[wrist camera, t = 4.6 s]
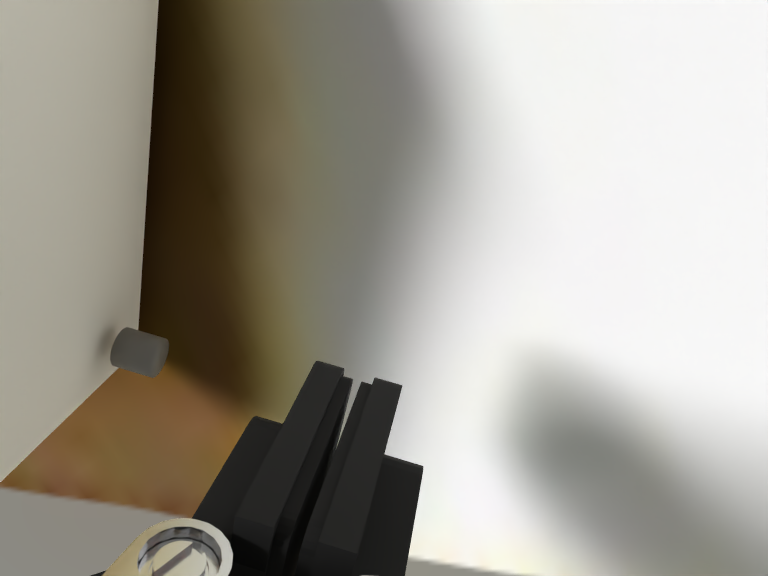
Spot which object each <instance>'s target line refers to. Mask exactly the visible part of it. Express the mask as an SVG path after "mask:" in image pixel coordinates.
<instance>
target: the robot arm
mask: <svg viewBox="0 0 768 576" xmlns="http://www.w3.org/2000/svg"><path fill="white" fill-rule="evenodd" d="M343 375H344V368H341V367H337V366H334V365H330V364H327V363H324V362H320V361H316V362H315V364H314V365H313V367H312V369H311V371H310V373H309V375H308V377H307V379H306V381H305V383H304V385H303V387H302V388H301V390H300V392H299V394H298V396H297V398H296V400H295V402H294V404H293V406H292V408H291V410H290V412H289V413H288V415H287V417H286V419H285V421H284V423H283V424H281V423H278V422H274V421H271V420H268V419H264V418H261V417H258V416H255V417H253V418H252V420H251V421H250V422H249V424H248V426H247V427H246V429H245V431H244V432H243V434H242V436H241V437H240V439H239V441H238V442H237V444H236V446H235V447H234V449H233V451H232V452H231V454H230V456H229V457H228V459H227V461H226V462H225V464H224V466H223V467H222V469H221V471H220V472H219V474H218V476H217V477H216V479H215V481H214V482H213V484H212V486H211V487H210V489H209V491H208V492H207V494H206V496H205V497H204V499H203V501H202V502H201V504H200V506H199V507H198V509H197V511H196V512H195V514H194V516H193V517H192V519H185V518H178V519H172V520H167V521H163V522H161V523H158V524H156V525H154V526H152V527H150V528H148V529H147V530H146V531H144V532H143V533H142V534H141V535H139V536H138V537H137V538H136V539H135V540H134V541H133V542H132V543H131V544H130V546H129V547H128V548H127V549H126V550H125V551H124V552H123V553H122V554H121V555H120V557H119V558H118V559H117V560H116V561H115V562H114V563H113V564H112V565H111V566H110V567H109V568H108V569H107V570H106V571H103V572H101V573H98V574H94V575H91V576H405V571H406V565H407V560H408V554H409V548H410V543H411V537H412V531H413V525H414V520H415V514H416V508H417V503H418V497H419V491H420V485H421V480H422V474H423V466H421V465H418V464H414V463H411V462H408V461H404V460H401V459H398V458H394V457H391V456H388V455H384V453H385V449H386V445H387V442H388V438H389V434H390V430H391V426H392V423H393V419H394V415H395V411H396V408H397V404H398V400H399V396H400V393H401V389H402V385H399V384H395V383H392V382H388V381H385V380H381V379H378V378H374V381H373V384H372V385H371V384H368V383H364V382H361V384H360V387H359V390H358V392H357V395H356V398H355V400H354V403H353V406H352V408H351V411H350V414H349V416H348V419H347V422H346V424H345V427H344V430H343V432H342V435H341V438H340V440H339V443H338V439H339V435H340V431H341V427H342V423H343V419H344V415H345V411H346V407H347V403H348V399H349V395H350V391H351V387H352V382H353V379H351V378H347V377H344V376H343ZM337 443H338V446H337ZM336 447H337V449H336Z"/></svg>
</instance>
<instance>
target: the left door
mask: <svg viewBox="0 0 768 576" xmlns="http://www.w3.org/2000/svg"><path fill="white" fill-rule="evenodd" d="M158 3H159V0H0V482H1V481H2V480H3V479H4V478H5V477H6V476H7V475H8V474H9V473H10V472H11V471H12V470H13V469H15V468H16V467H17V466H18V465H19V464H20V463H21V462H22V461H23V460H24V459H25V458H26V457H27V456H28V455H29V454H30V453H31V452H32V451H33V450H34V449H35V448H36V447H37V446H38V445H39V444H40V443H41V442H42V441H43V440H44V439H45V438H47V437H48V436H49V435H50V434H51V433H52V432H53V431H54V430H55V429H56V428H57V427H58V426H59V425H60V424H61V423H62V422H63V421H64V420H65V419H66V418H67V417H68V416H69V415H70V414H71V413H72V412H73V411H74V410H75V409H76V408H77V407H79V406H80V405H81V404H82V403H83V402H84V401H85V400H86V399H87V398H88V397H89V396H90V395H91V394H92V393H93V392H94V391H95V390H96V389H97V388H98V387H99V386H100V385H101V384H102V383H103V382H104V381H105V380H106V379H107V378H108V377H109V376H111V375H112V374H113V373H114V372H115V371H116V370H117V369H118V368H122V369H125V370H129V371H132V372H135V373H139V374H142V375H145V376H149V377H152V378H153V377H156V376H157V375H158V374H159V372H160V371H161V369H162V368H163V366H164V364H165V361H166V358H167V355H168V350H169V342H168V340H167V339H166V338H162V337H159V336H156V335H152V334H149V333H146V332H142V331H139V330H138V326H139V310H140V293H141V277H142V261H143V245H144V229H145V213H146V197H147V181H148V164H149V148H150V132H151V116H152V100H153V84H154V68H155V51H156V35H157V19H158Z"/></svg>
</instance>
